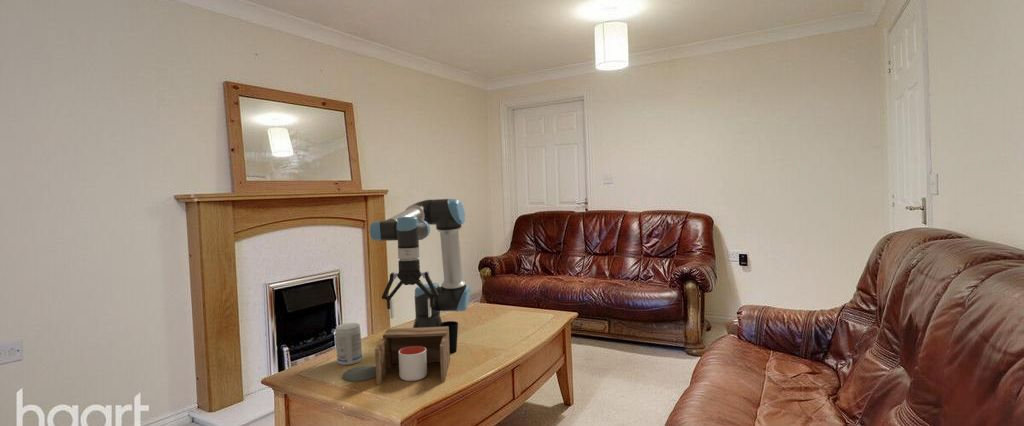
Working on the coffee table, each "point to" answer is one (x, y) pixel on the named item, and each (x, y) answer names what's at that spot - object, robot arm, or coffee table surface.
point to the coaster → (360, 373)
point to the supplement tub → (348, 343)
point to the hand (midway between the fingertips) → (411, 317)
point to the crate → (406, 337)
